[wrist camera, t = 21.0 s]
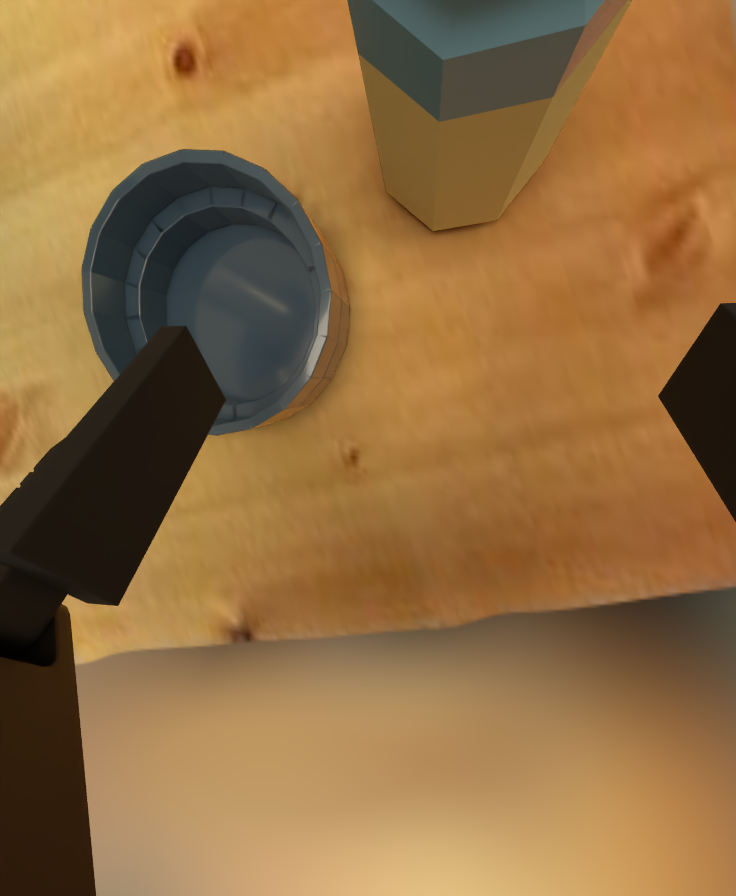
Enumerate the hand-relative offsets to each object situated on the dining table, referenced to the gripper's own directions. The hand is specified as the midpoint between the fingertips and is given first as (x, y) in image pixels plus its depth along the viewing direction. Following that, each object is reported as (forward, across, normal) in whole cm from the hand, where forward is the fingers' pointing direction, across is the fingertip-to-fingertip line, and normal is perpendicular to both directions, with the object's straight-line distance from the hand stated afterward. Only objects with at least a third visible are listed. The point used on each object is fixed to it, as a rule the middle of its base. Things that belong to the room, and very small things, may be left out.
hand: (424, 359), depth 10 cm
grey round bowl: (+13, -12, -6) cm, 18 cm away
